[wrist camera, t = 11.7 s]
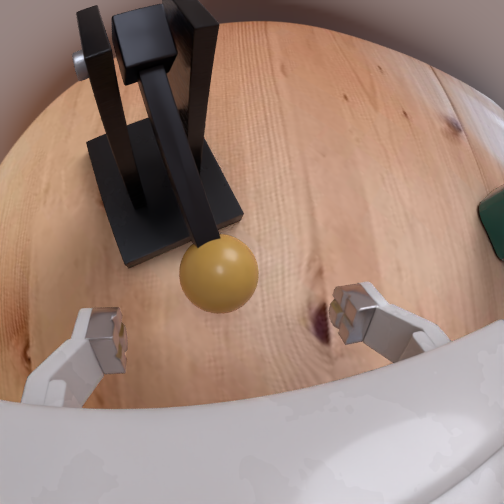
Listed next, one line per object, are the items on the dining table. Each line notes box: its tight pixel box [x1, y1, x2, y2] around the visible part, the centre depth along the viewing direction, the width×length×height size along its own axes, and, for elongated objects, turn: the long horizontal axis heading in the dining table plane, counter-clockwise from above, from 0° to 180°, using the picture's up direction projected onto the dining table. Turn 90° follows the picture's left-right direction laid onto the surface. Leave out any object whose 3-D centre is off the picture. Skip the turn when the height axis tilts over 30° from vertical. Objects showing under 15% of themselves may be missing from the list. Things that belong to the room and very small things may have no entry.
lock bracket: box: [72, 0, 244, 268], centre depth 15 cm, size 11×9×15 cm
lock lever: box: [112, 4, 258, 314], centre depth 12 cm, size 14×4×4 cm, turn 27°
